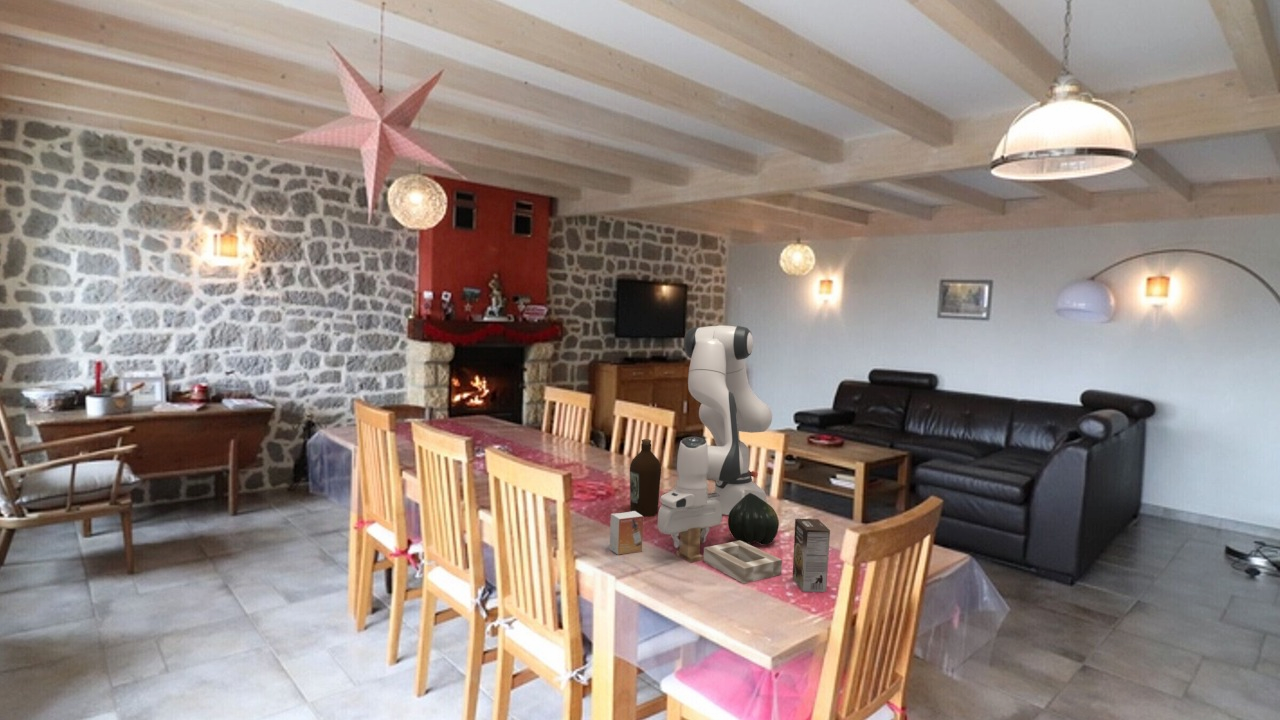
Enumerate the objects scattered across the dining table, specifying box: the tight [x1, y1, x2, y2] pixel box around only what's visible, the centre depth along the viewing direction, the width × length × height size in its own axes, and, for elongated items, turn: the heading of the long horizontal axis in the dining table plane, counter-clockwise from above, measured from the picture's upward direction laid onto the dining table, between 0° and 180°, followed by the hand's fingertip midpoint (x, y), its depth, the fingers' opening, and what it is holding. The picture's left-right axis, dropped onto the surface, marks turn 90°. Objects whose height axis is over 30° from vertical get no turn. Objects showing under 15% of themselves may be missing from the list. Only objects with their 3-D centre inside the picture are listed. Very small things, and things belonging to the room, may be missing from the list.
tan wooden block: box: [675, 527, 704, 564], centre depth 194 cm, size 4×7×9 cm, turn 32°
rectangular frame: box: [702, 540, 783, 584], centre depth 187 cm, size 13×17×4 cm
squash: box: [727, 493, 780, 546], centre depth 209 cm, size 14×15×15 cm
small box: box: [609, 511, 644, 556], centre depth 198 cm, size 8×6×10 cm
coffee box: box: [792, 518, 831, 593], centre depth 177 cm, size 9×6×16 cm
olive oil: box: [629, 438, 662, 518], centre depth 233 cm, size 11×11×25 cm
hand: (689, 544), depth 194 cm, fingers open, 7 cm apart
